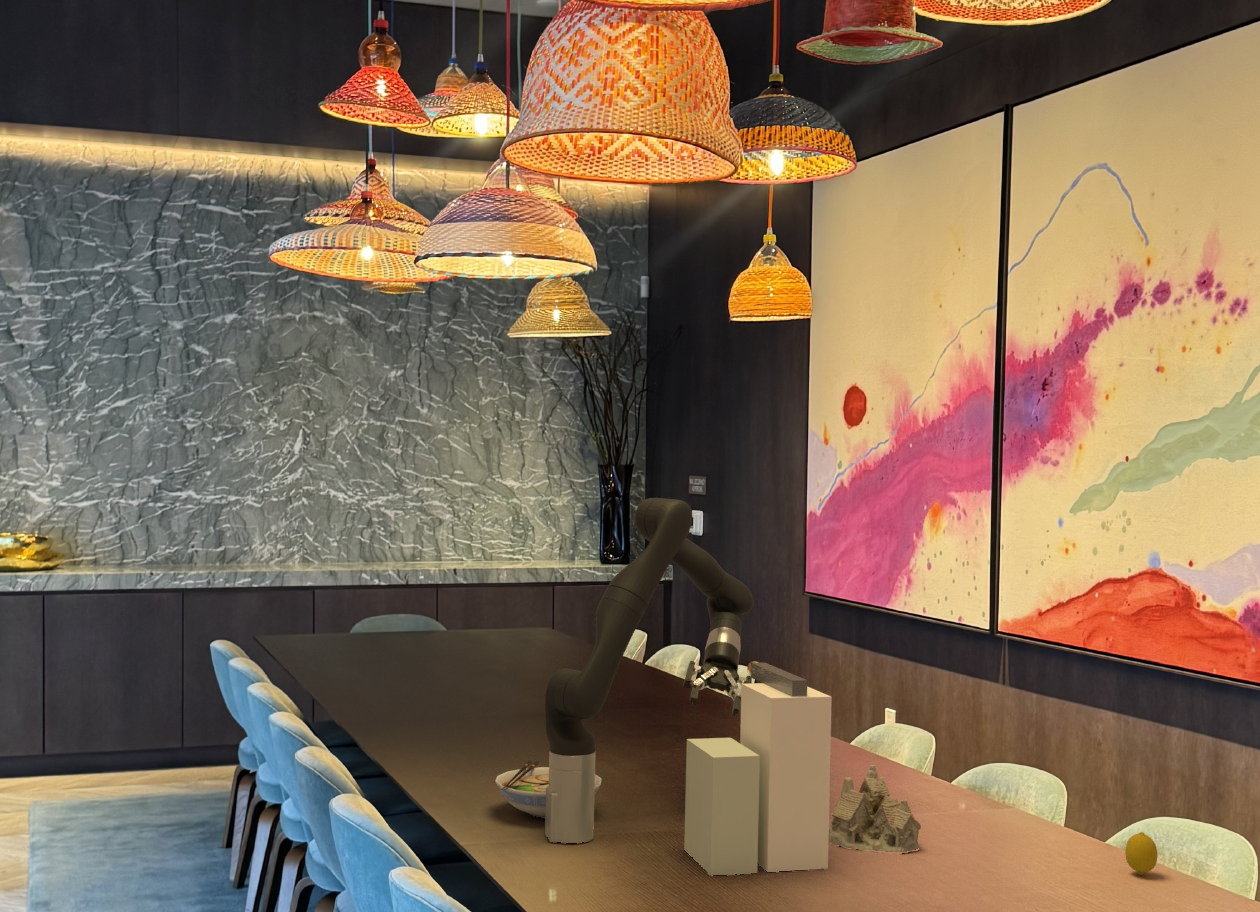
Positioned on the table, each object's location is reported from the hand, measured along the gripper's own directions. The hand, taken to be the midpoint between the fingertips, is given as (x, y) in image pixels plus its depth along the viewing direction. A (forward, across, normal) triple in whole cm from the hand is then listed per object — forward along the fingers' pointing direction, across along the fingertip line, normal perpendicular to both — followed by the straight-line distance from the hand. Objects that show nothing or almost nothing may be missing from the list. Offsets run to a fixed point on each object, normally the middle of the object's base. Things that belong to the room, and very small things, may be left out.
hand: (714, 708), depth 257 cm
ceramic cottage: (+17, +36, +8) cm, 41 cm away
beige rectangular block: (+33, +6, +5) cm, 34 cm away
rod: (+7, +9, -17) cm, 21 cm away
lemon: (+23, +82, -10) cm, 86 cm away
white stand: (+29, +18, +5) cm, 34 cm away
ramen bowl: (+14, -28, +29) cm, 43 cm away
